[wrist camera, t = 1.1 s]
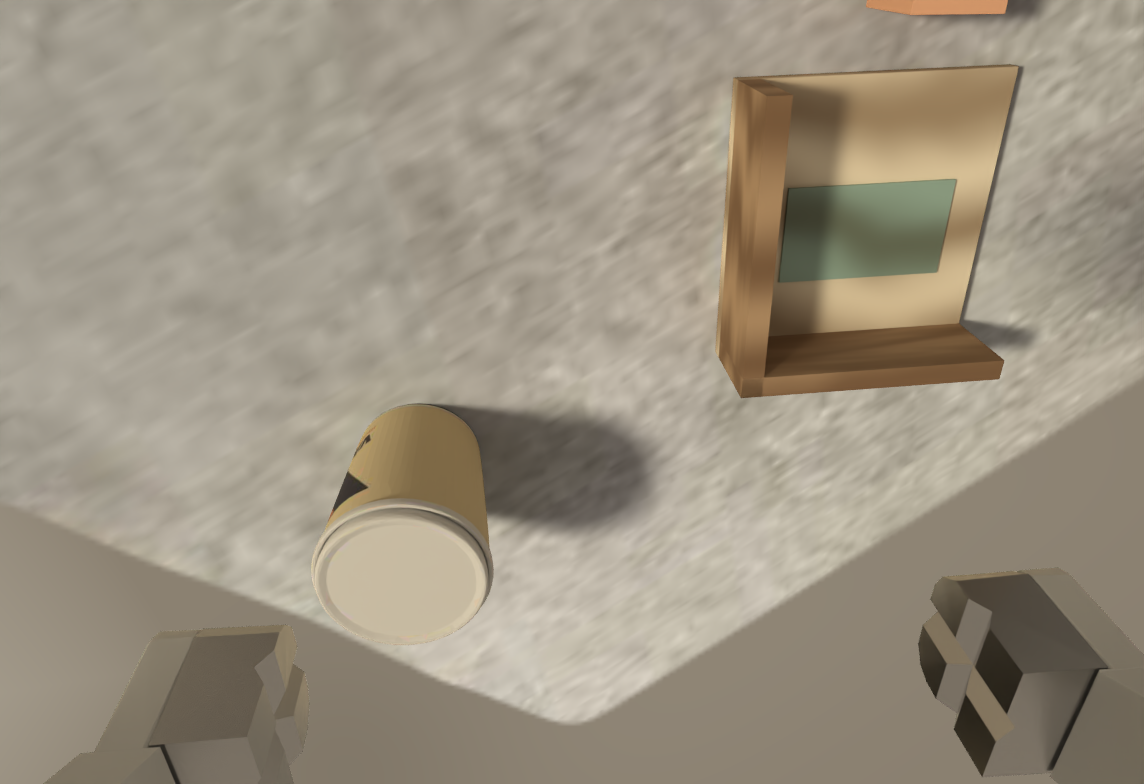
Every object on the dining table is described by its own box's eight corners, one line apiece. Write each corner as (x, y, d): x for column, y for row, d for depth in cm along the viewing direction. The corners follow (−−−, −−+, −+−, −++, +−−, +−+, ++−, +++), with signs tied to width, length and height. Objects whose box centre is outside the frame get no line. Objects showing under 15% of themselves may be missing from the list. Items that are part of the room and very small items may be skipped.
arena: (733, 77, 41) (767, 96, 36) (1009, 64, 42) (1080, 80, 37) (715, 351, 49) (741, 398, 44) (948, 335, 50) (999, 379, 45)
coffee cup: (344, 386, 48) (303, 509, 38) (498, 396, 49) (500, 517, 39) (347, 508, 52) (311, 648, 42) (488, 514, 54) (487, 651, 43)
